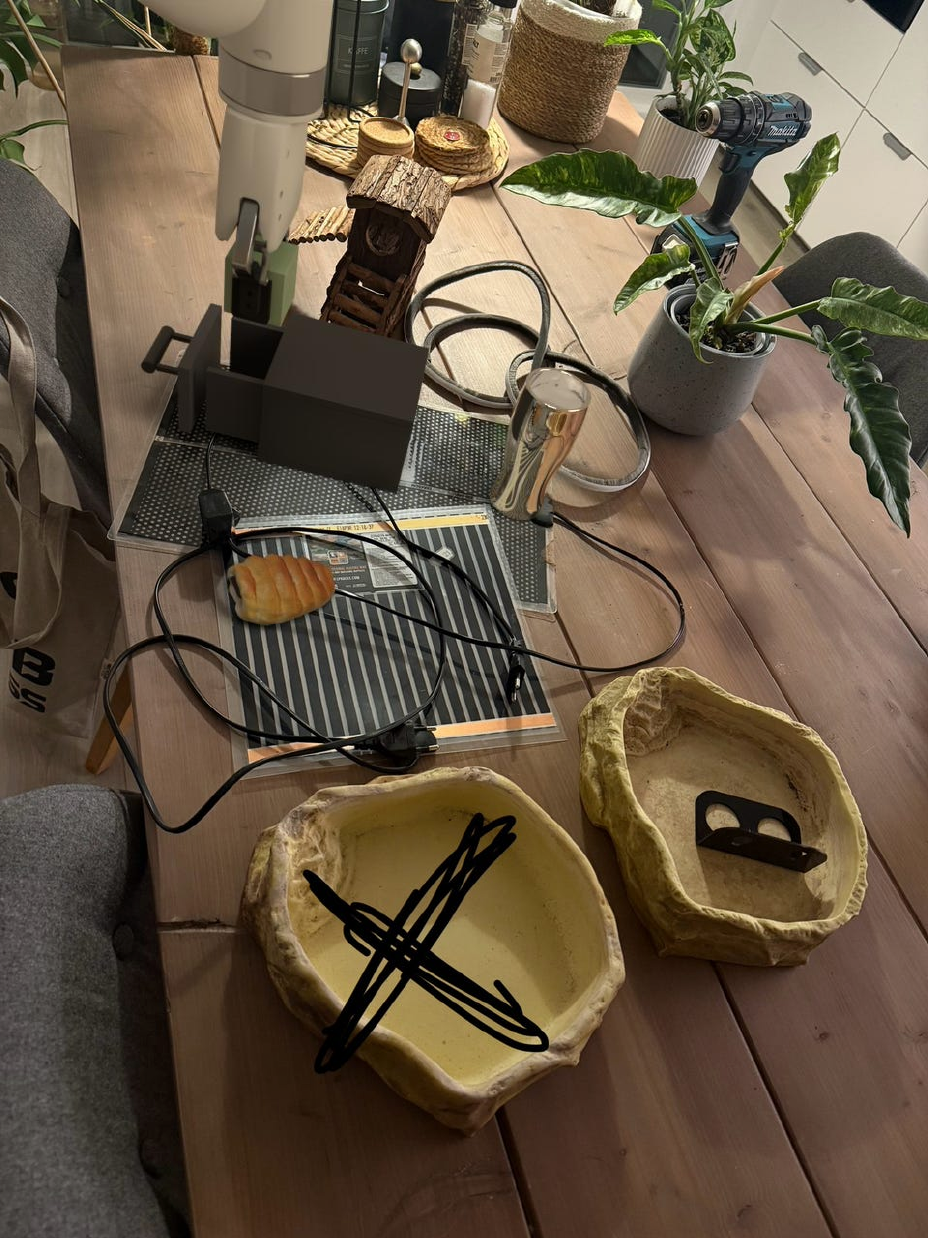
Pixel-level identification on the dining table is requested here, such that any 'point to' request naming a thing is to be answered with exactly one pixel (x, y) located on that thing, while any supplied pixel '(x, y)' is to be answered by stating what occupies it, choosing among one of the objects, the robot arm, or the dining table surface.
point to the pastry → (279, 588)
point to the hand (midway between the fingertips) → (259, 299)
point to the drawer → (219, 373)
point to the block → (279, 274)
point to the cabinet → (341, 403)
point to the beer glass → (539, 440)
